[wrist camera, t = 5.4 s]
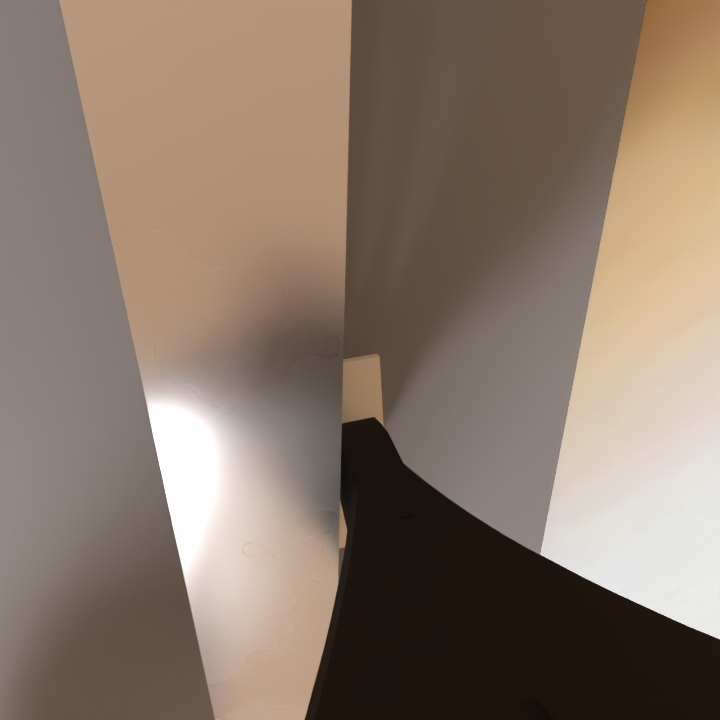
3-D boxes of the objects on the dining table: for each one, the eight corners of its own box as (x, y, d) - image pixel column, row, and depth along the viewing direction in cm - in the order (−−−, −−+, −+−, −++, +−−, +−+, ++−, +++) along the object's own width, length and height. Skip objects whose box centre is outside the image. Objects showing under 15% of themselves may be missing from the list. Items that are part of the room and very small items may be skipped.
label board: (509, 615, 17) (526, 643, 16) (85, 762, 13) (69, 810, 12) (628, -131, 7) (693, -191, 6) (-843, -310, 4) (-1304, -525, 3)
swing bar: (79, -259, 4) (-231, -1044, 2) (328, -183, 5) (404, -634, 2) (231, 665, 11) (222, 806, 9) (325, 641, 12) (343, 765, 9)
